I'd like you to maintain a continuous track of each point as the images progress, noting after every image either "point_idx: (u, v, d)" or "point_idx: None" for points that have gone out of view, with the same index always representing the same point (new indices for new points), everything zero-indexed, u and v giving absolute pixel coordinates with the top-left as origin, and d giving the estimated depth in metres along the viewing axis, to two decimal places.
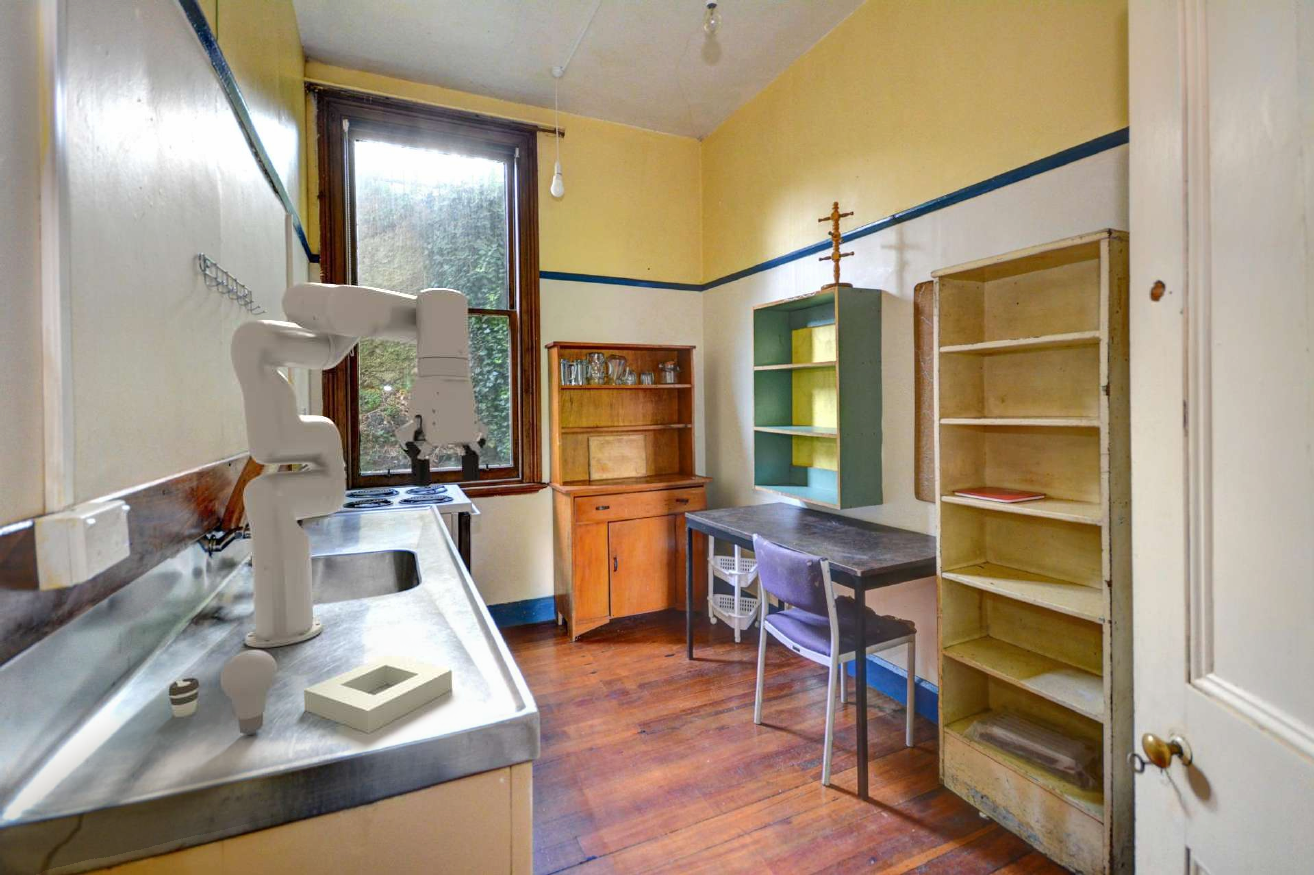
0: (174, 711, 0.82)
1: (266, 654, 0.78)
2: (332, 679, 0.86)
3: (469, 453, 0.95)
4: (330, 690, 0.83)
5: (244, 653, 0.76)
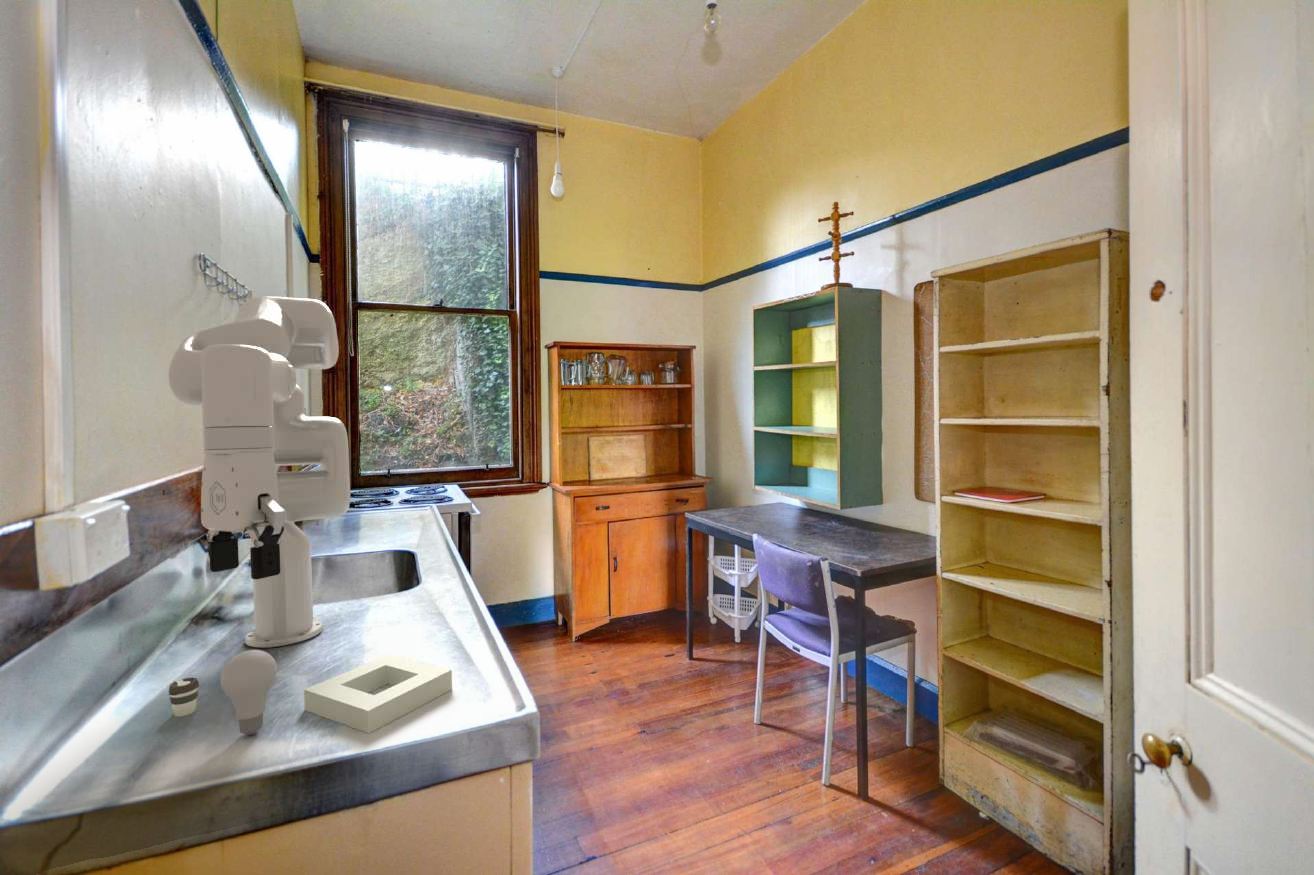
0: (174, 710, 0.82)
1: (266, 654, 0.78)
2: (332, 679, 0.86)
3: (225, 537, 0.78)
4: (330, 690, 0.83)
5: (244, 653, 0.76)
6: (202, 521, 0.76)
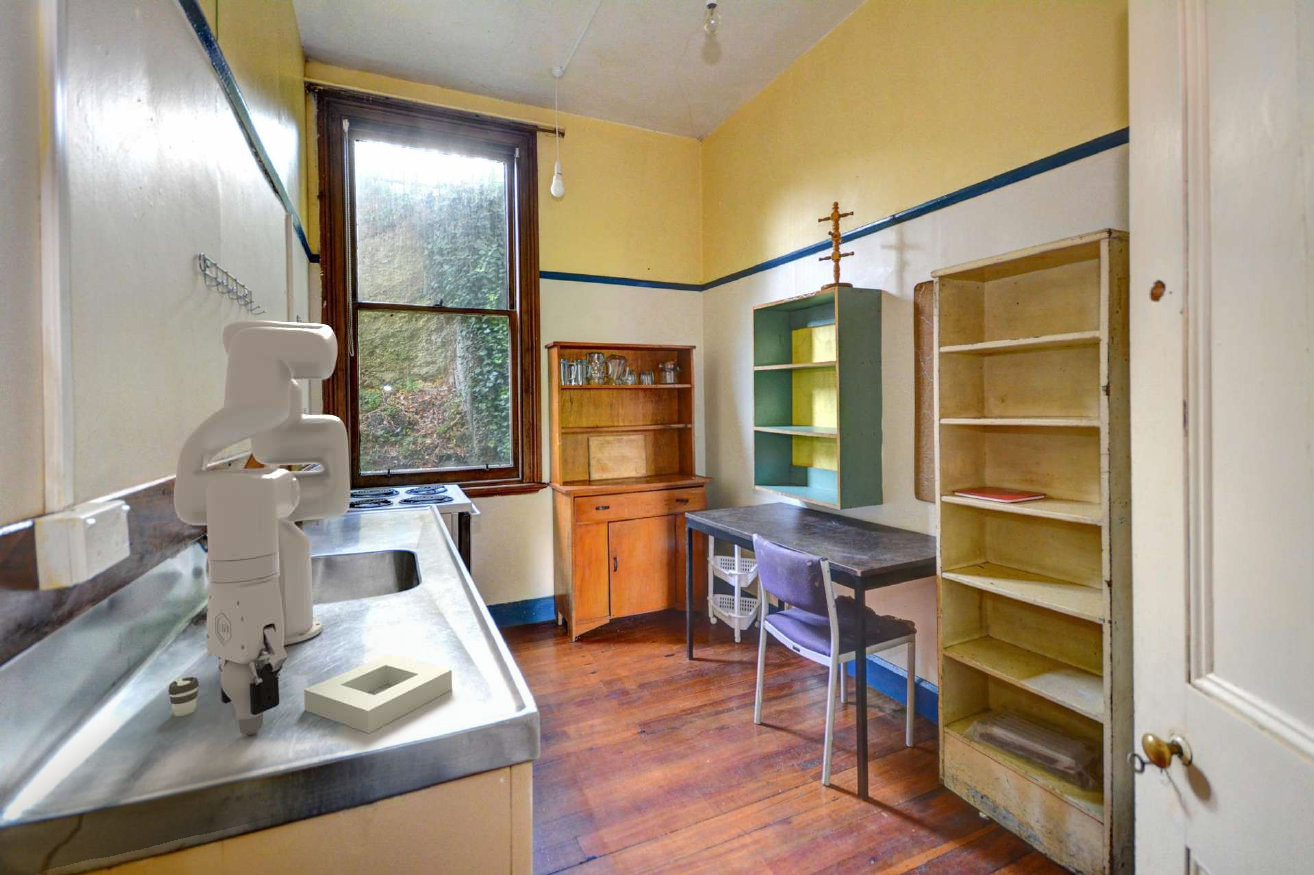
0: (174, 710, 0.82)
1: None
2: (332, 679, 0.86)
3: None
4: (330, 690, 0.83)
5: None
6: (208, 647, 0.76)
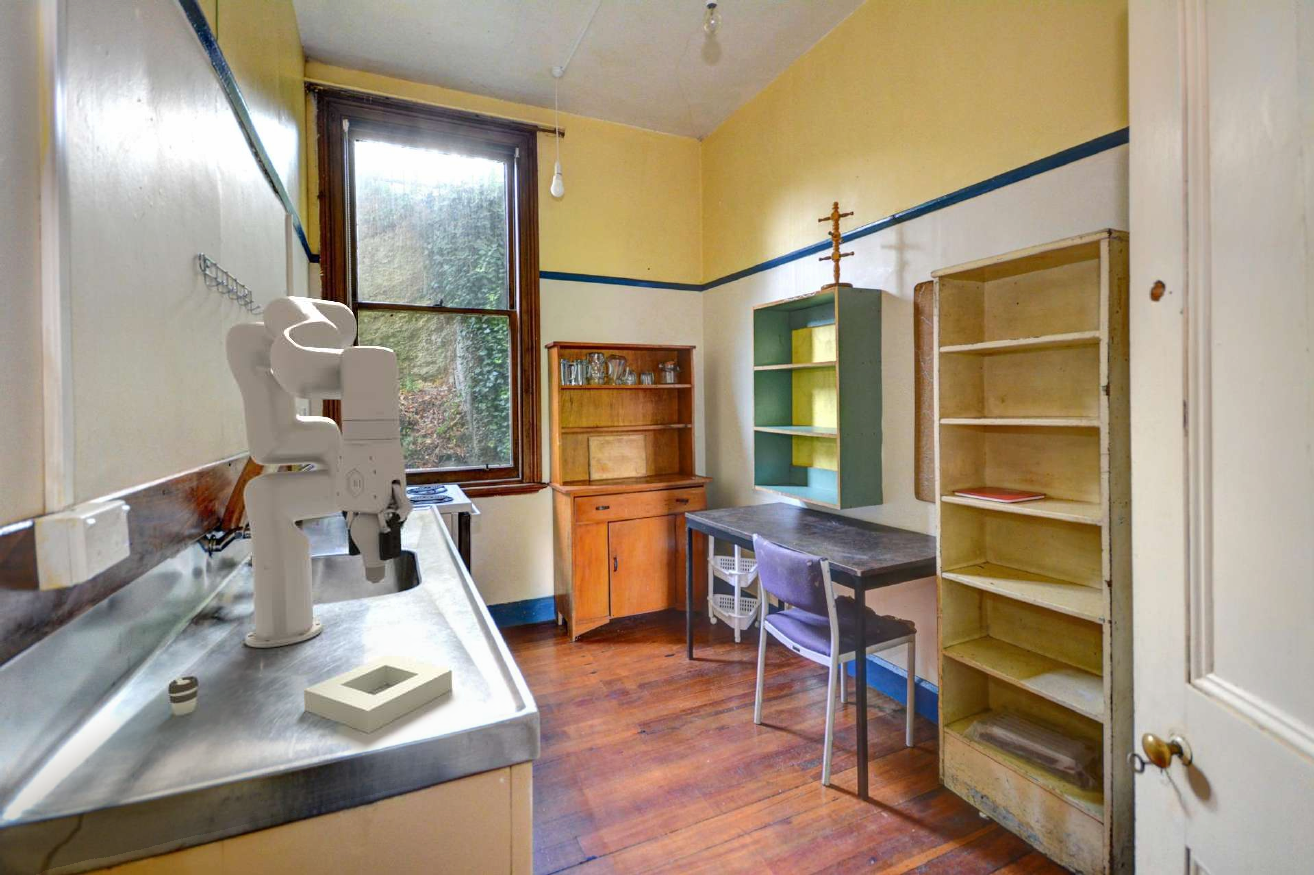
0: (174, 709, 0.83)
1: None
2: (332, 679, 0.86)
3: None
4: (330, 690, 0.83)
5: None
6: (338, 503, 0.85)
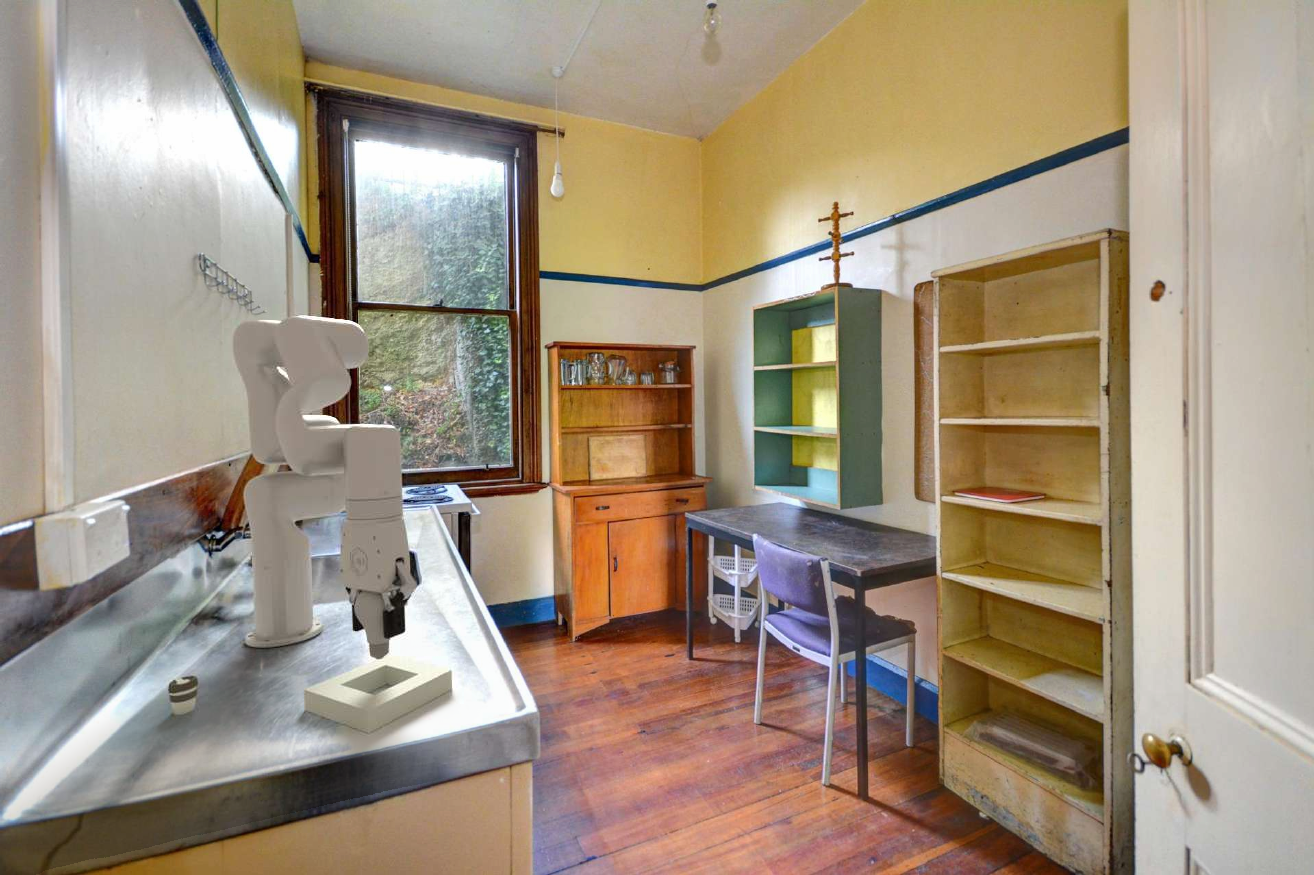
0: (174, 709, 0.83)
1: None
2: (332, 679, 0.86)
3: None
4: (330, 690, 0.83)
5: None
6: (342, 580, 0.85)
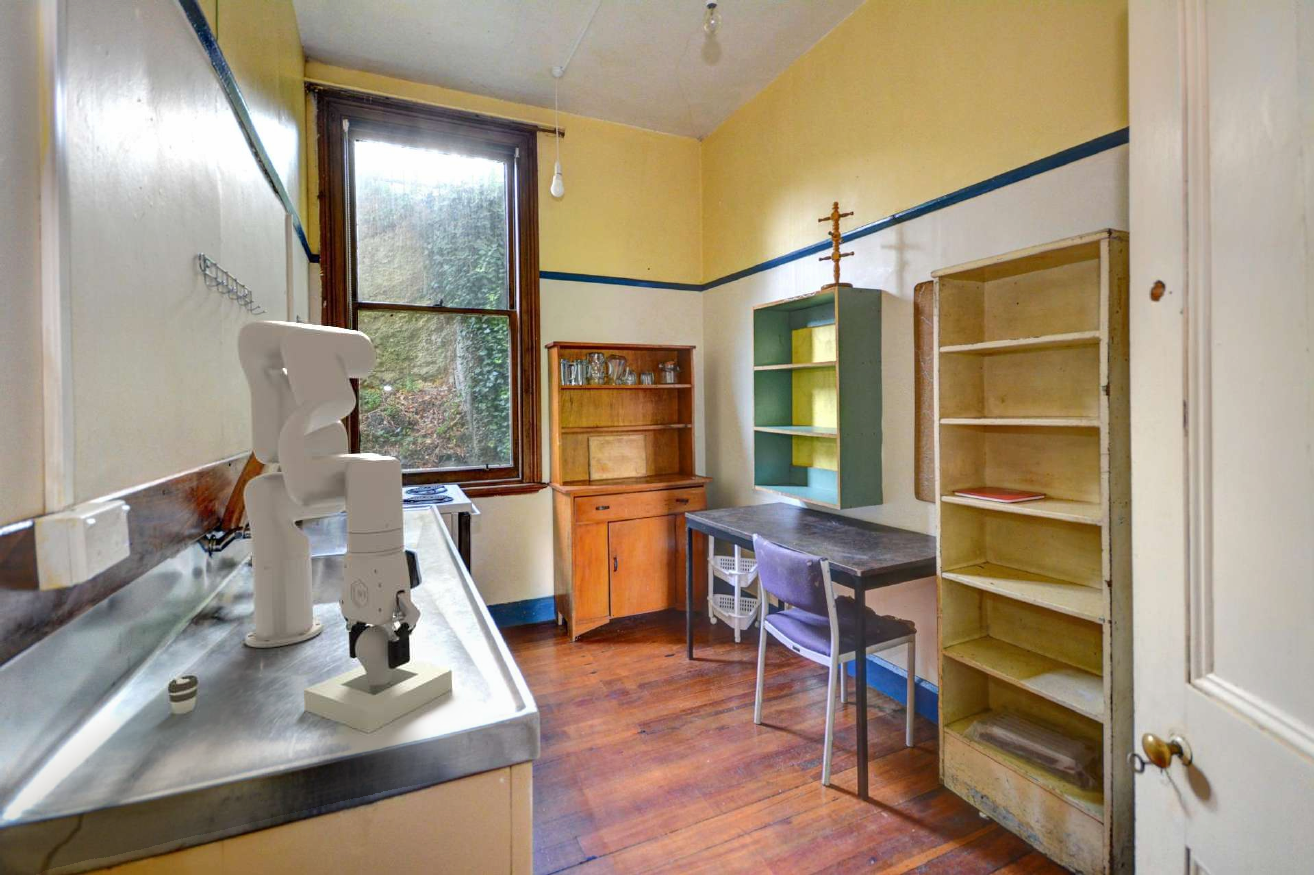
0: (173, 708, 0.83)
1: None
2: (332, 679, 0.86)
3: (361, 626, 0.88)
4: (330, 690, 0.83)
5: (375, 627, 0.85)
6: (342, 612, 0.85)
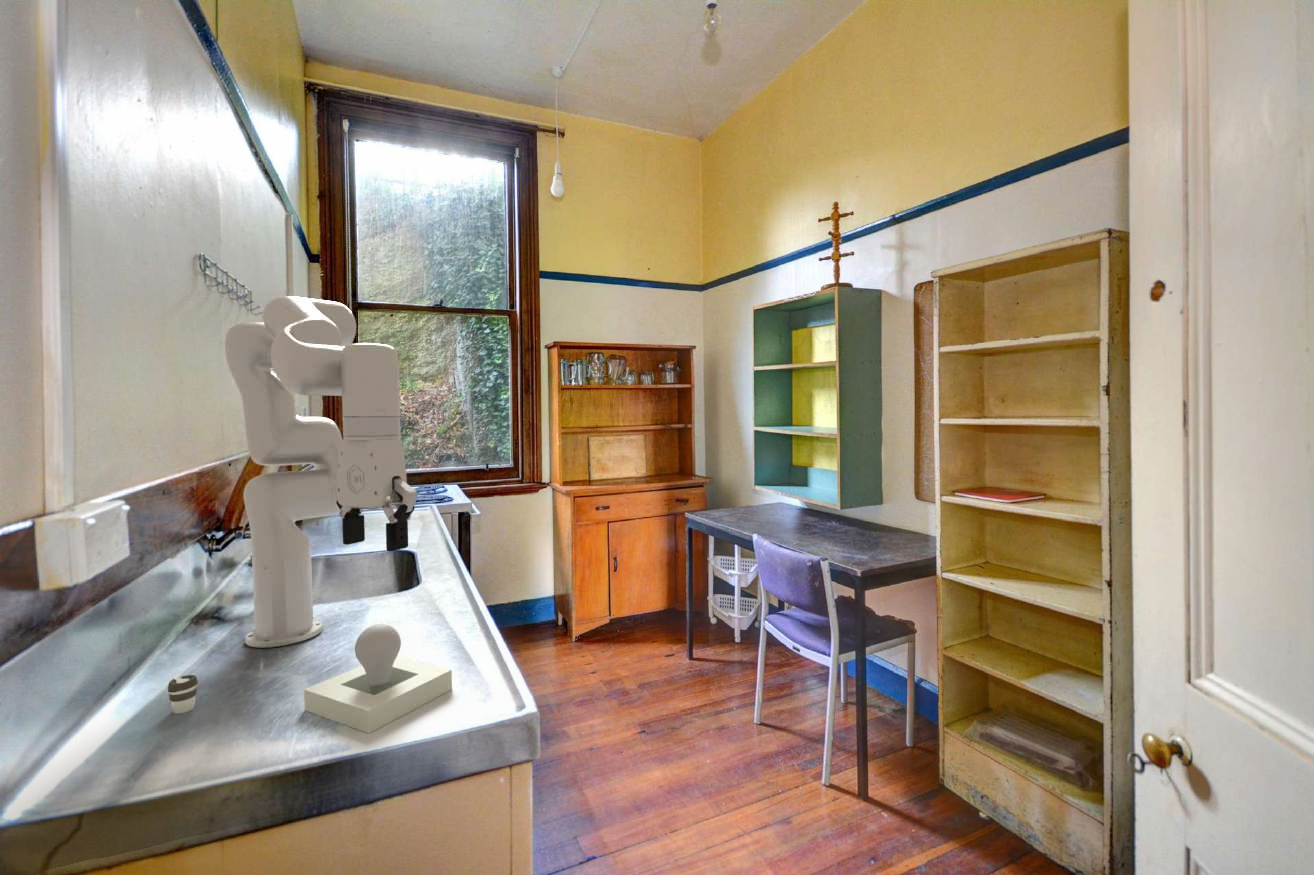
0: (173, 707, 0.83)
1: (392, 628, 0.87)
2: (332, 679, 0.86)
3: (354, 514, 0.88)
4: (330, 690, 0.83)
5: (374, 626, 0.85)
6: (339, 499, 0.85)
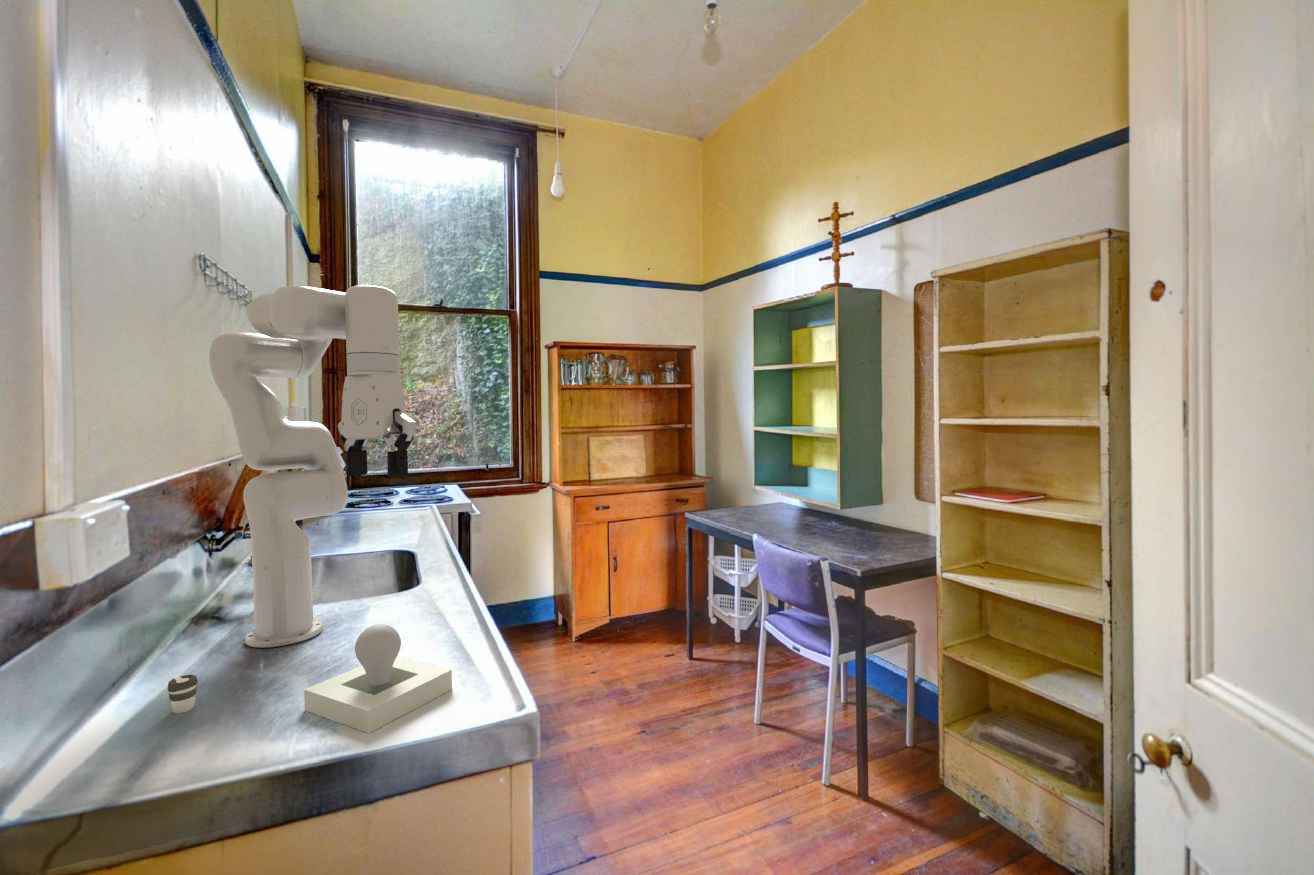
0: (173, 707, 0.83)
1: (392, 628, 0.87)
2: (332, 679, 0.86)
3: (358, 448, 0.95)
4: (330, 690, 0.83)
5: (374, 626, 0.85)
6: (343, 432, 0.92)
